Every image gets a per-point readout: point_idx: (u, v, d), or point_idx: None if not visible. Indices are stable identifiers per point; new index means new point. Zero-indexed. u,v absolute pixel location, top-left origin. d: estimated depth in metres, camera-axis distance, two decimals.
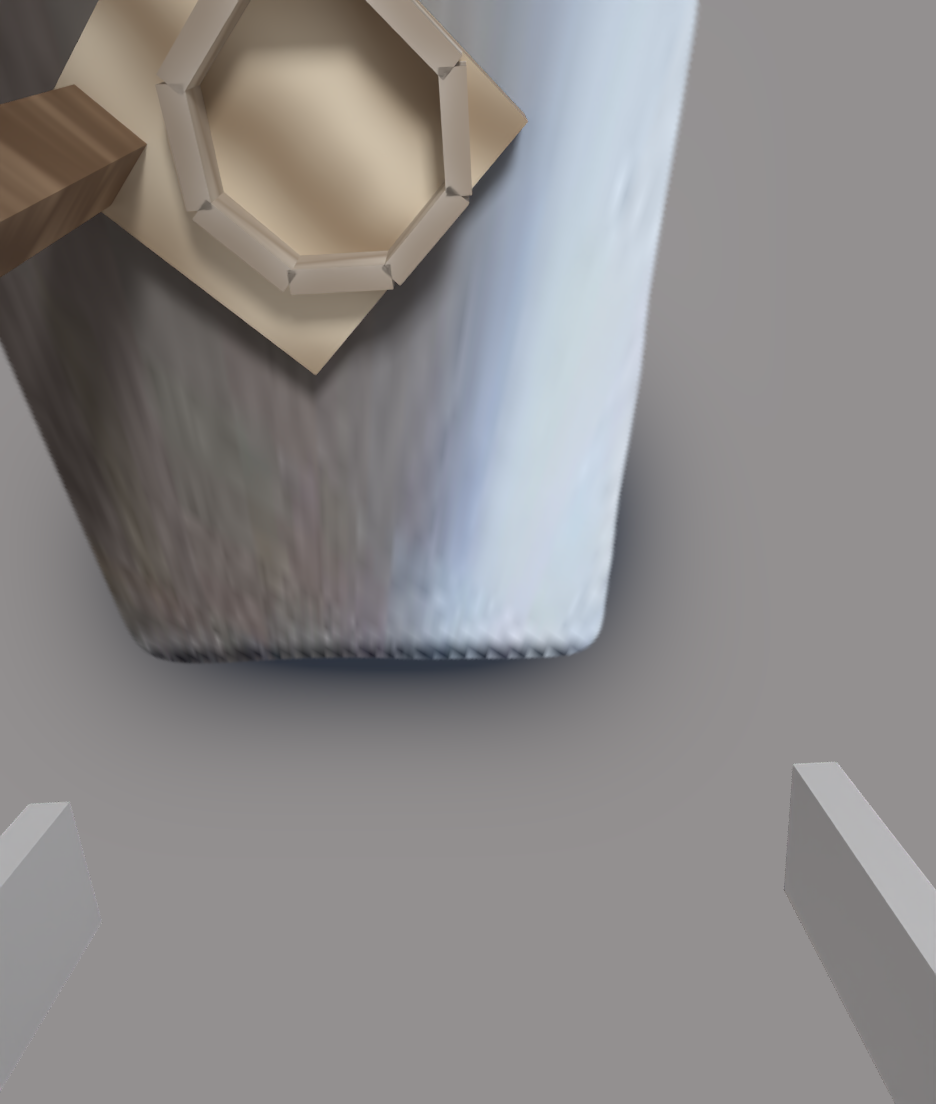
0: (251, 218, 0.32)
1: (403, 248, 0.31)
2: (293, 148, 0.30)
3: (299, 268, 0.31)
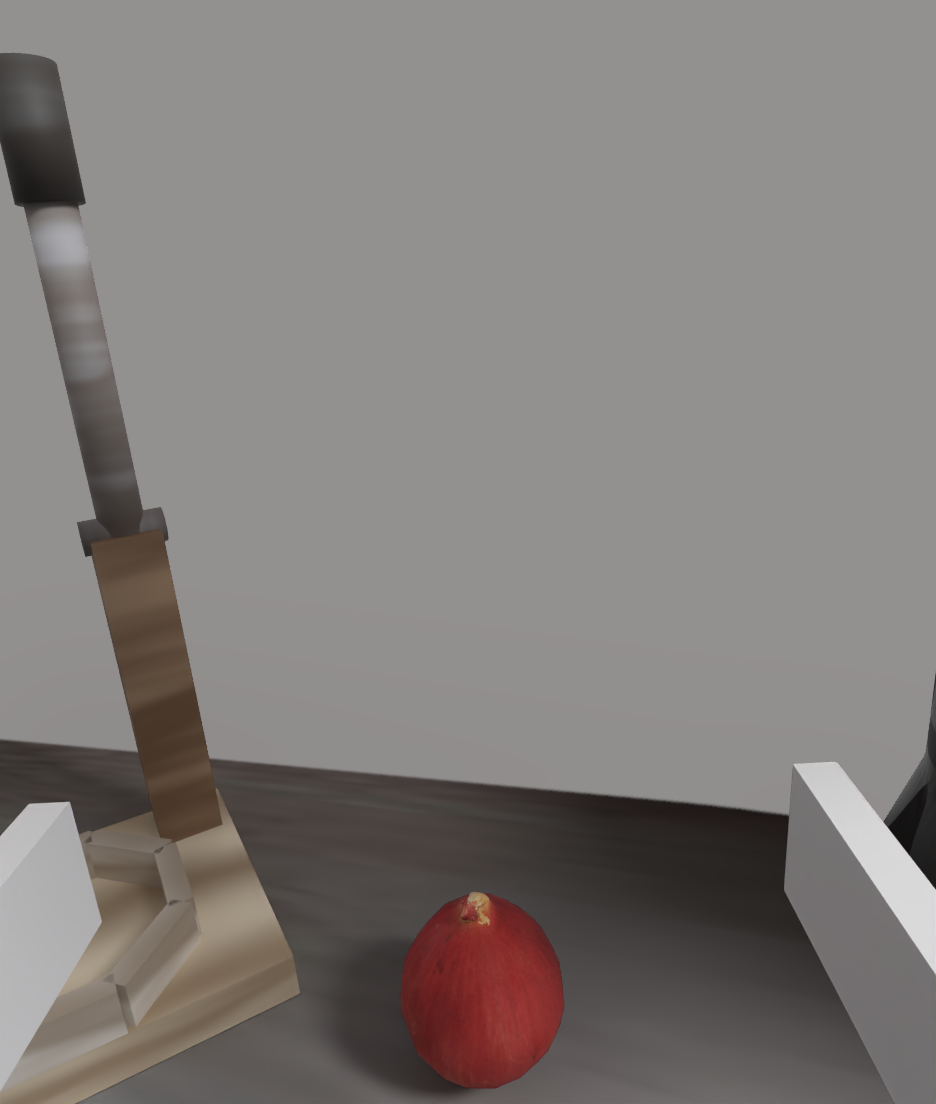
0: None
1: None
2: None
3: None
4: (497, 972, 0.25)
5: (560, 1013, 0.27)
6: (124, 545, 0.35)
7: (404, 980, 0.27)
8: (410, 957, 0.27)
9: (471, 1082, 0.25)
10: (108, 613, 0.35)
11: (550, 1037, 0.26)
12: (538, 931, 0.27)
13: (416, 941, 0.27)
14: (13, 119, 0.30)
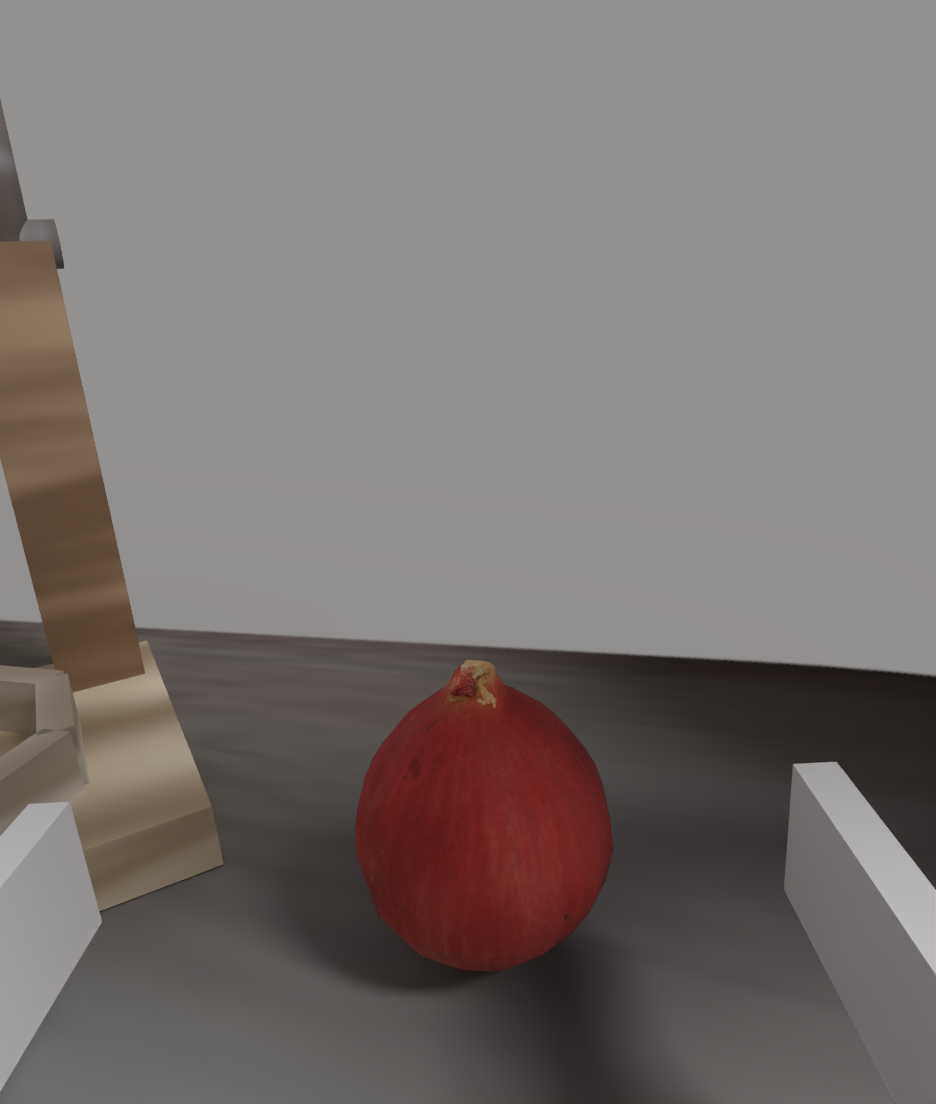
0: None
1: None
2: None
3: None
4: (508, 774, 0.15)
5: (607, 857, 0.17)
6: None
7: (360, 802, 0.17)
8: (370, 769, 0.17)
9: (463, 954, 0.16)
10: None
11: (592, 889, 0.16)
12: (572, 733, 0.17)
13: (381, 746, 0.17)
14: None
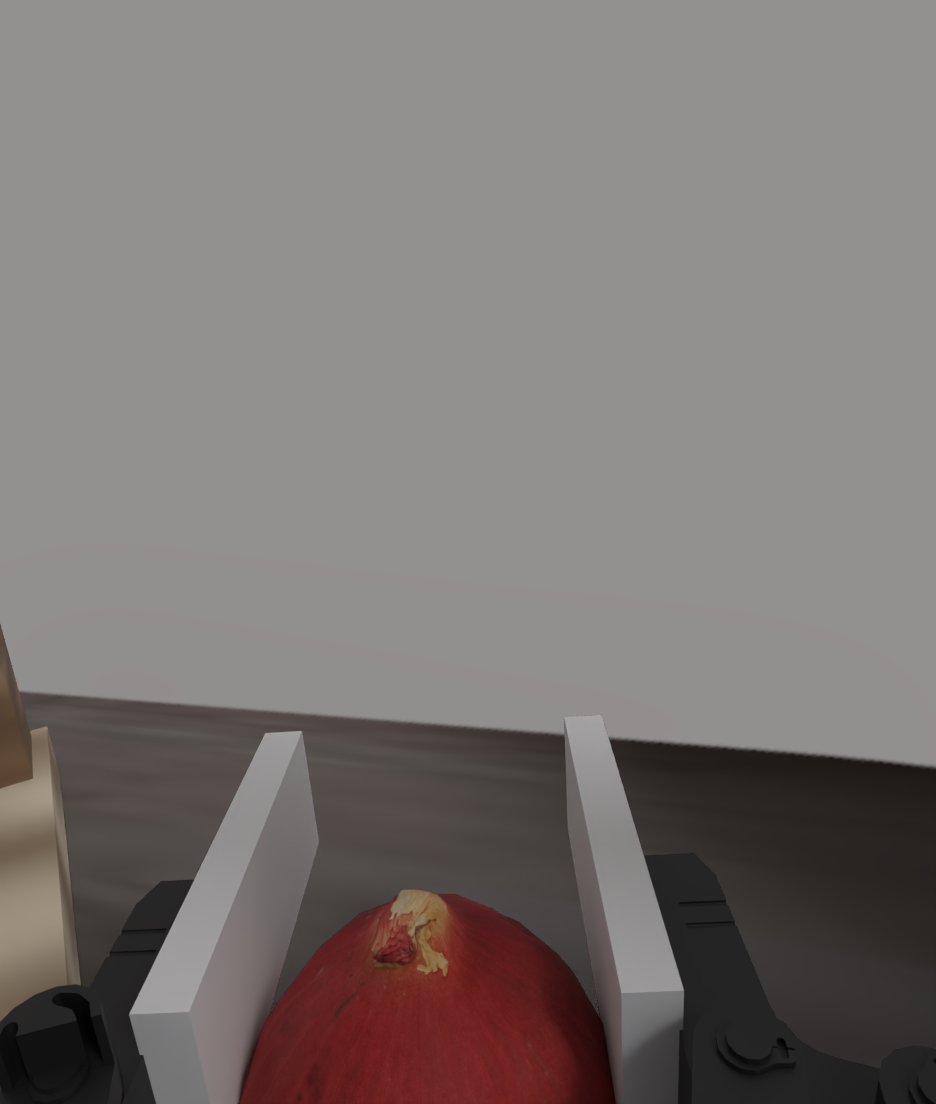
0: None
1: None
2: None
3: None
4: None
5: None
6: None
7: None
8: (258, 1046, 0.11)
9: None
10: None
11: None
12: (569, 985, 0.11)
13: (276, 1008, 0.11)
14: None
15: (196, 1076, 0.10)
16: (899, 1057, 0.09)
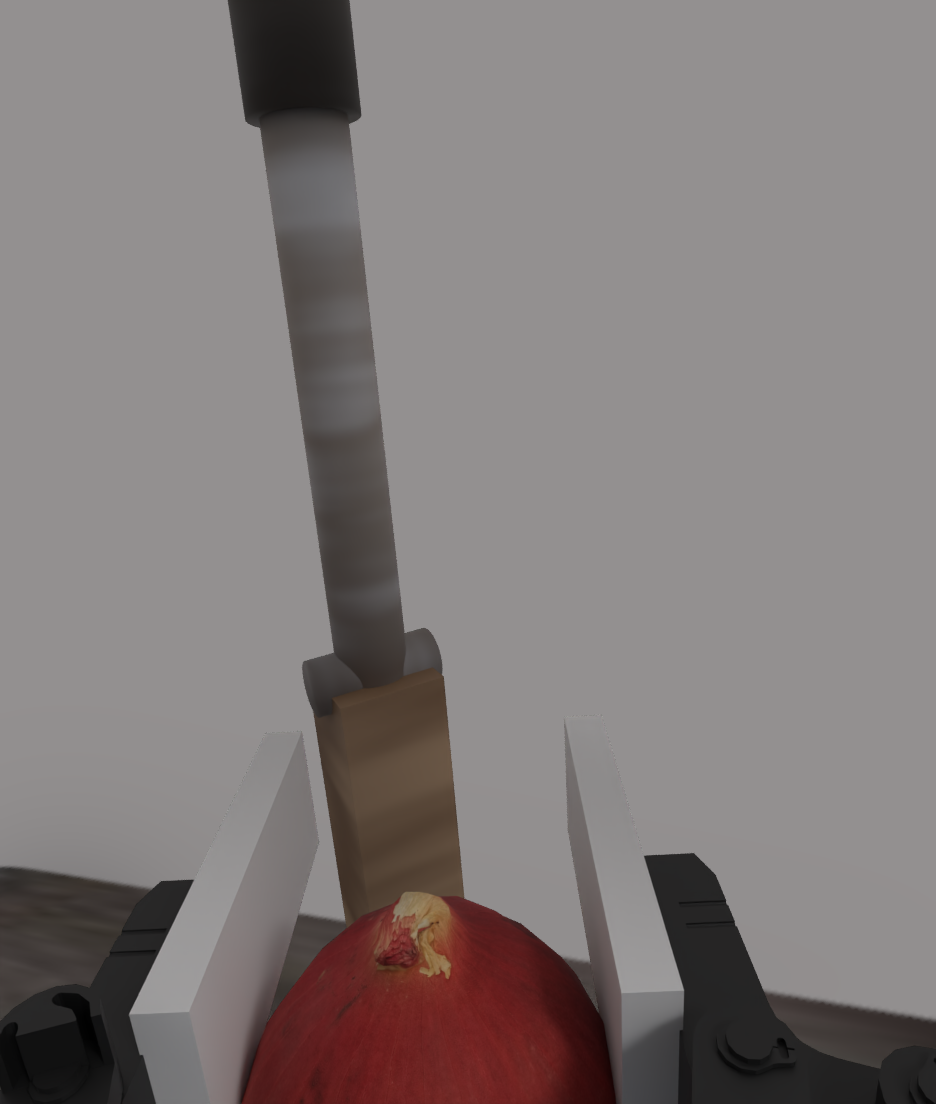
0: None
1: None
2: None
3: None
4: None
5: None
6: (388, 703, 0.21)
7: None
8: (259, 1049, 0.11)
9: None
10: (356, 813, 0.21)
11: None
12: (572, 988, 0.11)
13: (277, 1010, 0.11)
14: None
15: (196, 1076, 0.10)
16: (899, 1057, 0.09)
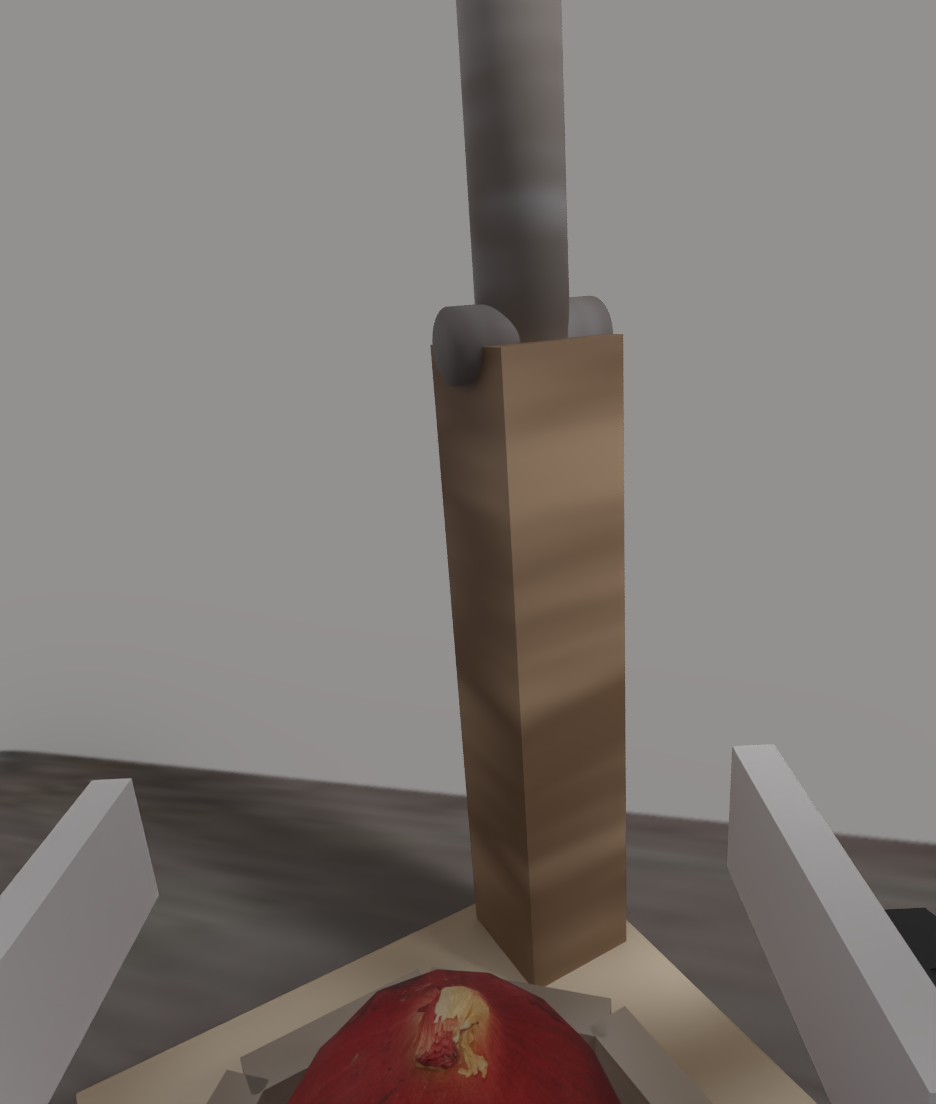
0: None
1: None
2: None
3: None
4: None
5: None
6: (557, 355, 0.16)
7: None
8: None
9: None
10: (510, 510, 0.16)
11: None
12: (596, 1077, 0.12)
13: (306, 1084, 0.12)
14: None
15: None
16: None
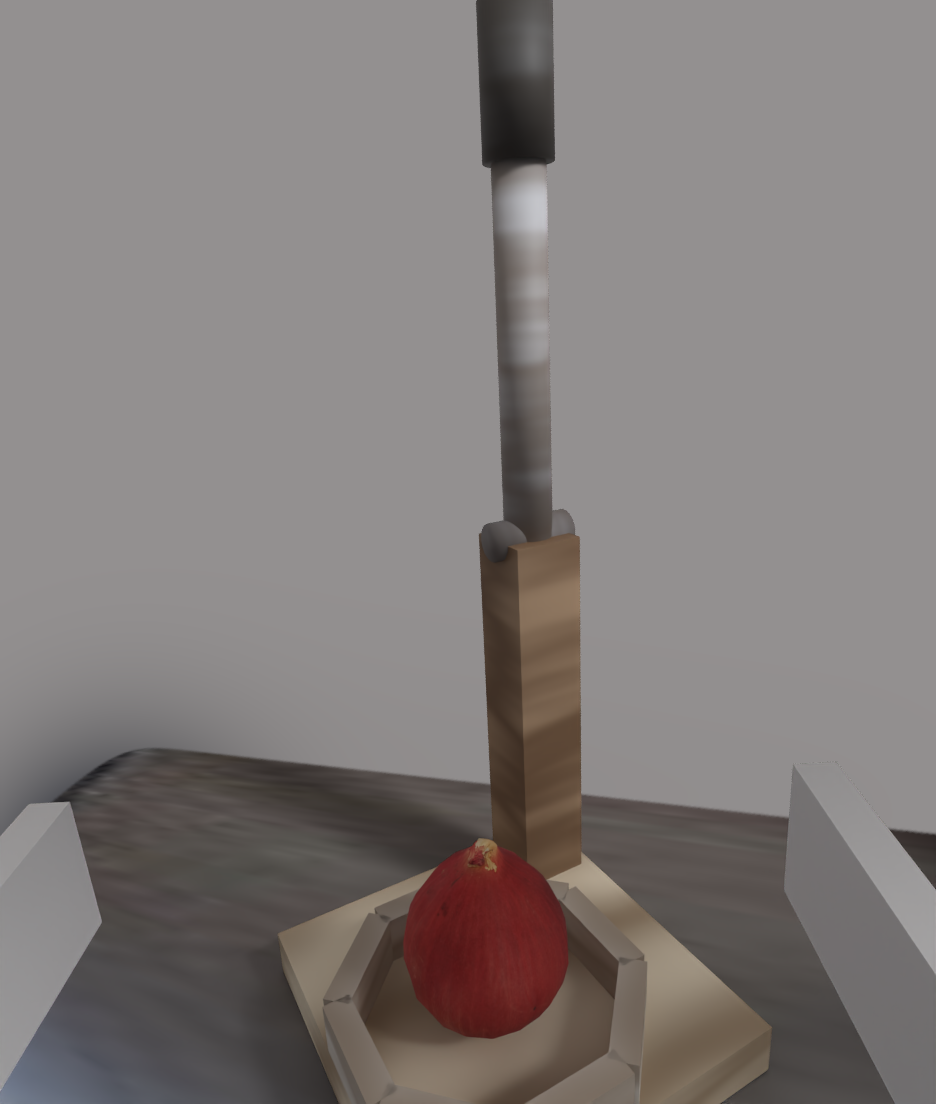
0: None
1: (357, 1022, 0.27)
2: None
3: (387, 929, 0.31)
4: (501, 918, 0.25)
5: (564, 968, 0.26)
6: (545, 551, 0.31)
7: (408, 924, 0.27)
8: (414, 902, 0.27)
9: (470, 1029, 0.25)
10: (520, 627, 0.31)
11: (552, 990, 0.26)
12: (545, 884, 0.27)
13: (422, 887, 0.27)
14: (515, 62, 0.26)
15: None
16: None
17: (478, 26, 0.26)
